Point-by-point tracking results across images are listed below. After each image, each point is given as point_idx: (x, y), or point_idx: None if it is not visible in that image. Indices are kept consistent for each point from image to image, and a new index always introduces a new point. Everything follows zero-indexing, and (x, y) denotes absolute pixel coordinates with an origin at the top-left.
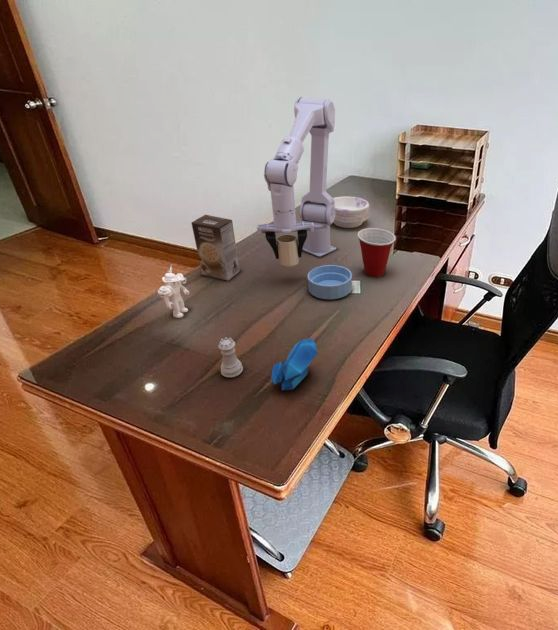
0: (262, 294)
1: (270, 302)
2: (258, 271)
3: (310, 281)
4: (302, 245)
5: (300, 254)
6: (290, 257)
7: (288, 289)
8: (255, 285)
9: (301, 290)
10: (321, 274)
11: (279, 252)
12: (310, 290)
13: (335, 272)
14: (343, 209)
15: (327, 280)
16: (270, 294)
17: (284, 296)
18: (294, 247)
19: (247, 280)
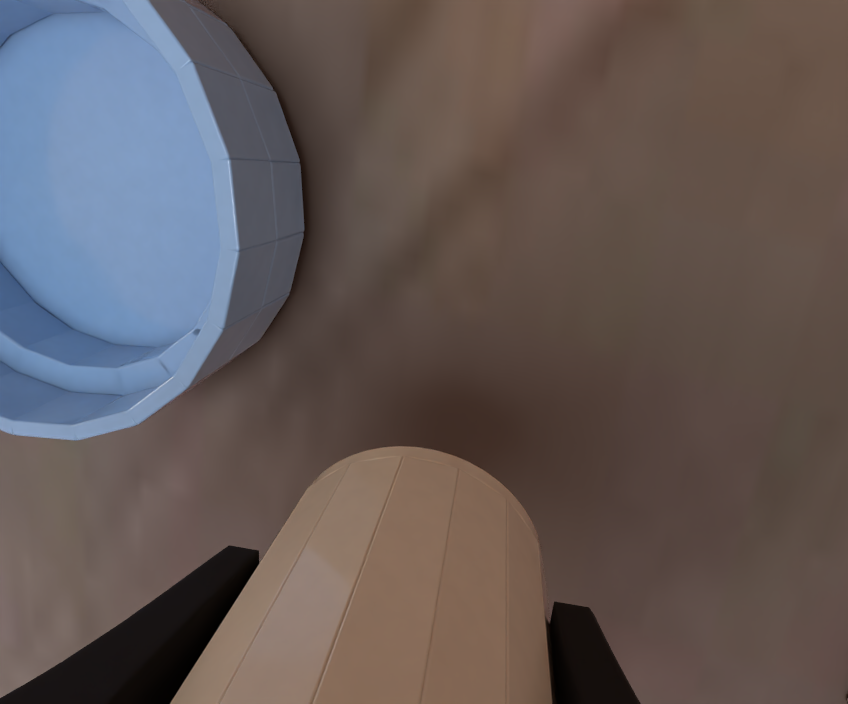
0: (752, 263)
1: (712, 74)
2: (684, 652)
3: (205, 89)
4: (18, 696)
5: (205, 572)
6: (365, 525)
7: (485, 294)
8: (773, 445)
9: (371, 245)
10: (141, 364)
11: (539, 678)
12: (273, 122)
13: (16, 365)
14: None
15: (134, 335)
16: (673, 243)
17: (545, 169)
18: (200, 687)
19: (821, 547)
